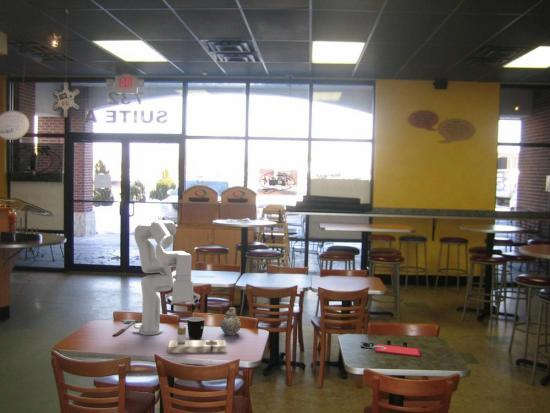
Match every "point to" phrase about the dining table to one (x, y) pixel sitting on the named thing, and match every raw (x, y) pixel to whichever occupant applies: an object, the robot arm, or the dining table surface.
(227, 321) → the grey bulbous vase
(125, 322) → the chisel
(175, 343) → the subfloor board
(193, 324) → the mug
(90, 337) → the dining table surface
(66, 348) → the dining table surface
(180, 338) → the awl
